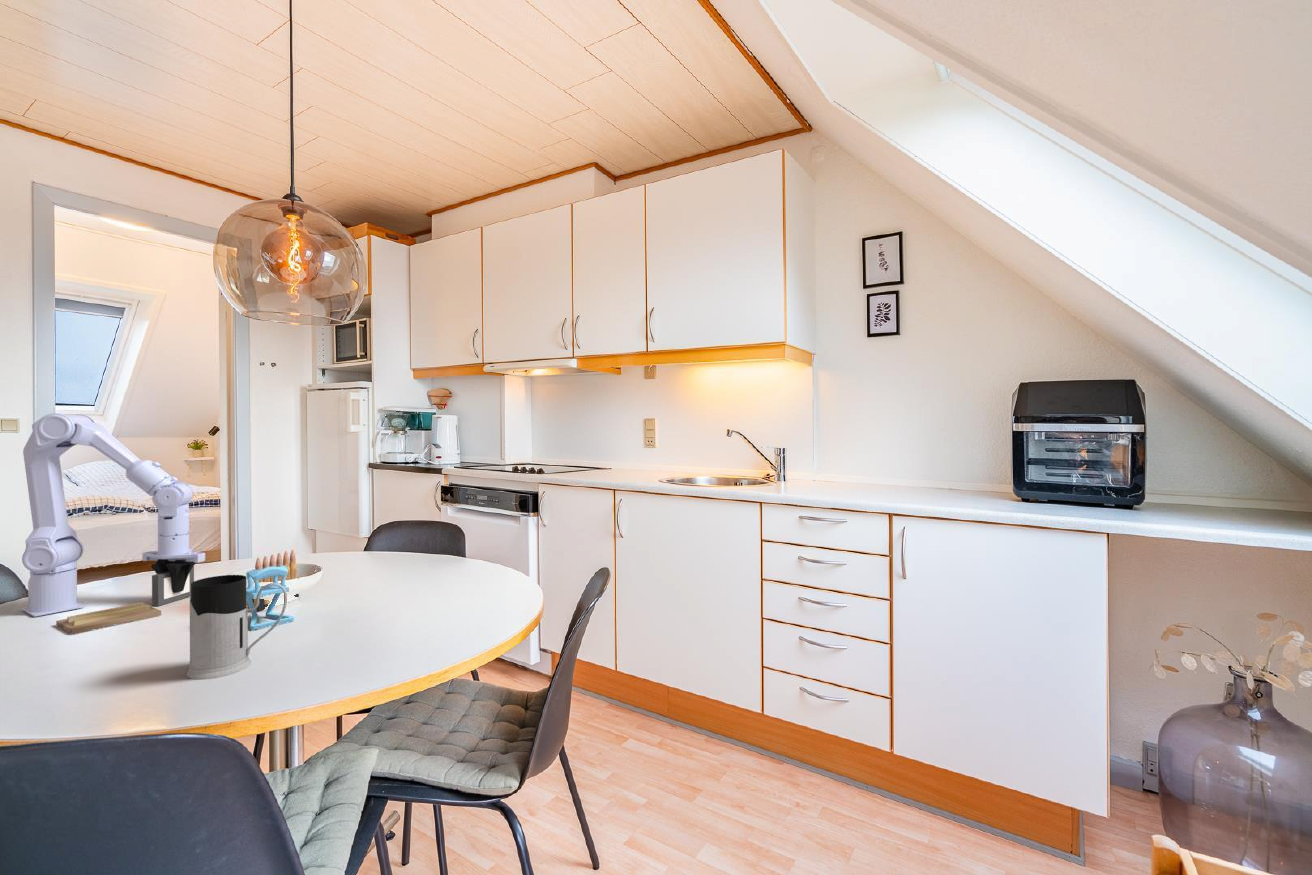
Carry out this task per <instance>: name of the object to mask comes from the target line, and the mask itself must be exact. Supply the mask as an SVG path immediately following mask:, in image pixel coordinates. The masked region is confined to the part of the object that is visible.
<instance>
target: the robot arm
mask: <svg viewBox="0 0 1312 875" xmlns="http://www.w3.org/2000/svg"><path fill="white" fill-rule="evenodd" d="M31 429H32V432H31V434H30V436H29V437H28V439H27V442H26V443H25V444H24V447H23V449H22V450H23V452H22V453H23V455H22V456H23V462H24V467H25V476H26V477H25V478H26V484H27V485H26V486H27V491H28V493H27V494H28V499H29V506H30V513H31V521H32V529H33V530H32V531H31V532H30V534H29V535H28V536H27V538H26V539H25V542H24V543H25V550H24V552H23V554H22V556H21V557H22V558H21V563H22V565H23V566H24V568H26V570H29V575H30V576H29V578H28V582H27V586H28V587H27V593H28V594H27V599H28V600H27V603H28V604H27V605H28V606H24V607H21V611H23V612H25V613H27V614H28V615H30V616H32V617H34V618H35V617H40V616H46V615H51V614H55V613H56V614H57V613H61V612H67V611H71V610H77V609H82V608H84V607H85V605H84V604H82V603H80V602H78V570H77V569H78V565H77V561H79V560H80V559H81V557H83V554H84V550H85V549H84V546H83V543H82V542H81V541H80V540H79V538H78V536H77V531H76V530H75V529H74V528H73V527H71V526H70V525H69V520H68V512H67V507H66V506H67V504H66V498H65V490H64V483H63V476H62V468H61V459H60V458H61V456H62V455H63V454H65V453H66V452H67V451H69V450H70V449H71V448H72V447H75V446H77V445H81V446H86V447H87V446H88V447H91V448H94V449H96V450H97V451H98V452H100V453H101V454H103V455H104V456H106V457H107V458H108V459H110V460H112V461H113V462H114V463H115V464H117V465H118V466H120V467H122V468H123V469H124V470H125V477H126V479H127V480H129V481H130V482H131V483H133V484H134V485H135V486H137V487H138V488H139V489H141V490H142V491H143V492H144V493H146V494H147V495H148V496H150V497H151V500H152V504H154V506H155V507H156V508H157V551H156V550H153V551H151V550H150V551H146V552H145V551H144V552H142V559H141V560H142V562H148V561H152V562H153V561H155V563H152V564H151V566H150V567H151V569H152V570H153V571H154V572H155V573H156V574H160V573H164V572H168V571H169V573H170V576H171V583H172V591H173V593H177V592H181V591H183V590H184V586H185V583H186V580H187V577H188V575H189V573H190V571H191V569H192V568H193V567H195V565H196V563H202V562H205V561H206V553H205V552H199V551H193V549H190V504H189V503H190V502H191V501H192V500H193V498H194V492H193V489H192V487H191V486H190V485H189V483H186V482H183V481H178V480H179V479H178V478H177V477H176V476H171V475H170V474H169V473H168V472H166V471H165V470H164V469H162V468H161V466H162V464H161V463H159V461H152V460H150V459H140V458H139V457H138V456H137V455H135V453H133V452H132V451H131V450H130V449H129V448H127V447H126V446H125V445H124V444H123V443H121V441H120V440H118V439H117V438H116V437H114V436H113V435H112V434H111V433H110V432H109V431H108V430H107V429H106V428H105V427H104V426H103V425H102V424H101V423H99V422H96V421H95V419H93V418H92V416H90V415H85V414H69V413H68V414H64V413H63V414H62V413H58V412H57V413H56V412H55V413H48V414H46V415H44V416H42V417H41V418H39V419H38V420H36V421H35V422H33V423H32V424H31ZM156 574H155V575H156Z"/></svg>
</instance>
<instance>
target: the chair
mask: <svg viewBox="0 0 1312 875" xmlns="http://www.w3.org/2000/svg"><path fill="white" fill-rule="evenodd" d="M282 565H283V564H282ZM282 565H278V566H277V567H267V568H264V569H262V570H256V569H255V568H253V569H251V570H247V571H246V575H245V576H246V581H247V583H248V584H247V586H246V603H247V604H248V605H247V606H248V608H253V607H255V606H254V603H253V600H252V598H257V594H258V592H259V590H260V589H261V588H262V587H263V586H261V587H260V585H259V582H258V581H259V580H261V579H264V578H268V577H273V583H276V584H280V585H282V586H283V587H284V588H285V590H286V592H289V587H286V585H285V579H286V576H287V573H288V569H287V568H286V567H285V566H282ZM278 576H282V579H281V583H278ZM254 582H255V587H254ZM281 593H284V592H283V590H282V589H281V588H280V587H278V586H267V587H266V588H264V589H263V590H262V592H261V594H260V597H263V596H266V595H271V594H275V595H274V597H273V599H272V602H271V604H270V605H269V607H268V609H267V610H265V618H268V619H274V620H270V621H267V622H261V623H258V617H259V615H258V612H256V609H254V610H251V611H250V615H251V621H250V625H249V629H251V630H250V631H252V630H253V631H256V630H255V629H258V630H261V629H266V628H265V627H267V628H270V627H269V626H271V627H272V626H273V625H274V624H275V623H276V621H277V620H278V618H279V616H280V614H281V613H275V612H273V610H274V608H275V607H274V606H275V604H276V602H277V600H278V598H279V596H280V594H281ZM293 620H294V621H295V617H294V616H293V615H288V614H283V616H282V618H281V620H280V621H279V623H278V624H280V625H284V624H288V623H287V622H289V623H292V622H291V621H293ZM294 621H293V622H294ZM283 623H284V624H283Z"/></svg>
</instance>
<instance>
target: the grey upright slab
mask: <svg viewBox="0 0 1312 875" xmlns="http://www.w3.org/2000/svg"><path fill="white" fill-rule="evenodd" d="M194 581H195V566H193V568H192V569H191V571H190V573H189V575H188V577H187V580H186V583H185V586H184V590H183V591H181V592H177V593H173V591H172V583H171V576H170V573H169V571H168V572H164V573H160V574H152V575H151V607H152V606H153V607H159V606H163V604H164V605H167V604H170V603H173V602H177V601H180V600H183V599H186V598H190V596H191V583H192V582H194ZM166 603H167V604H166Z"/></svg>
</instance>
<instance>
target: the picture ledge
mask: <svg viewBox="0 0 1312 875" xmlns="http://www.w3.org/2000/svg"><path fill="white" fill-rule="evenodd" d="M159 615H161V616H162V610H161V609H159V608H156V607H154V606H153V607H152V605H150V604H145V603H144V602H142V601H141V602H137V603H130V604H126V605H121V606H116V607H112V608H105V609H100V610H97V611H96V610H95V611H90V612H85V613H81V614H80V613H79V614H75V615H70V616H67V617H66V618H63V619H59V620H56V621H55V622H56V623H55V624H56V625H57V626H56V627H58V628H60V629H61V628H62V630H63V629H64V630H63V631H65V630H66V631H65V632H67V633H68V632H69V633H68V634H70V633H72V634H73V635H75V634H74V633H77V634H82V633H85V632H84V631H87V632H89V631H88V630H91V631H93V630H92V629H96V630H100V629H99V628H101V629H104V628H103V627H105V628H108V627H107V626H110V627H112V626H111V625H114V624H119V625H123V624H122V623H124V624H127V623H126V622H128V623H131V622H130V621H133V622H135V621H134V620H137V621H142V620H146V619H145V618H147V619H150V618H149V617H151V618H154V617H153V616H156V617H160V616H159ZM141 619H142V620H141ZM114 626H115V625H114ZM81 632H82V633H81ZM72 634H71V635H72Z"/></svg>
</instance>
